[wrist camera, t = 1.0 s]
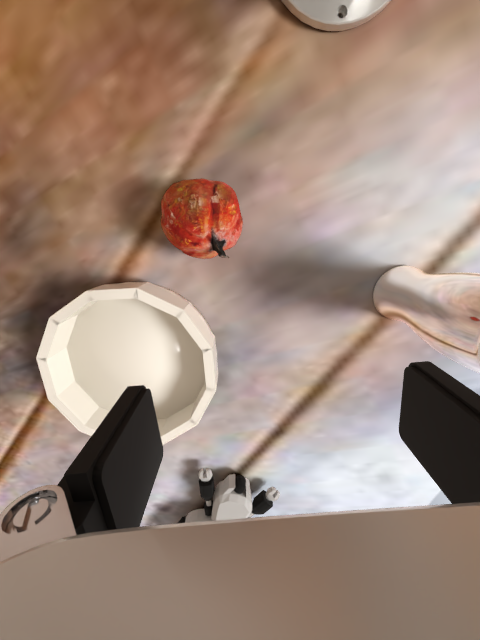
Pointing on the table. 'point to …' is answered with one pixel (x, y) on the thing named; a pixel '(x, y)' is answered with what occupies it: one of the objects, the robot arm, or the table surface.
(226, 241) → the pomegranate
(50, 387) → the fruit bowl
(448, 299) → the beer glass
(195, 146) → the table surface
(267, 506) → the robot toy
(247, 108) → the table surface
